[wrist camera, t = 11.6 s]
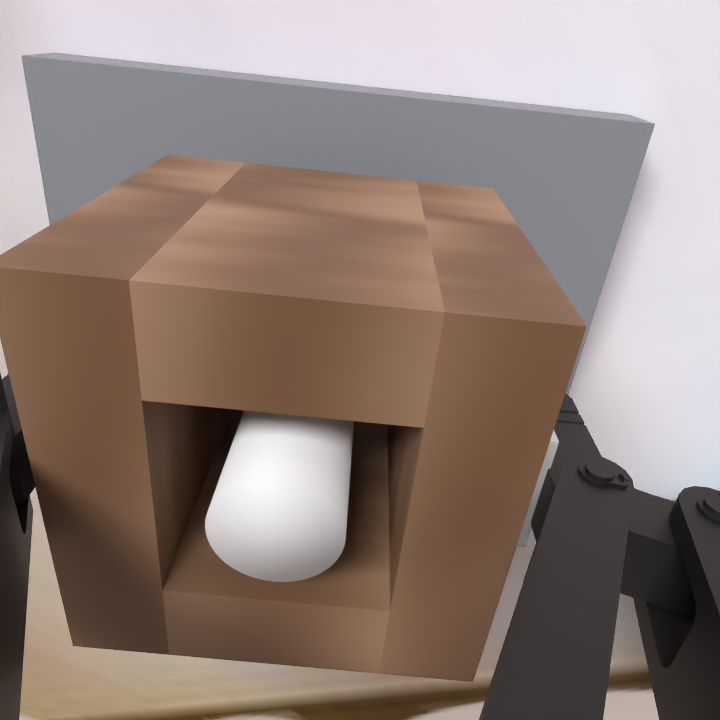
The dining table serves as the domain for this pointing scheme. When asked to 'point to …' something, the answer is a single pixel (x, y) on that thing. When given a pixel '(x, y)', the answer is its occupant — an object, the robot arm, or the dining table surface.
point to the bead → (286, 404)
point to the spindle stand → (344, 155)
